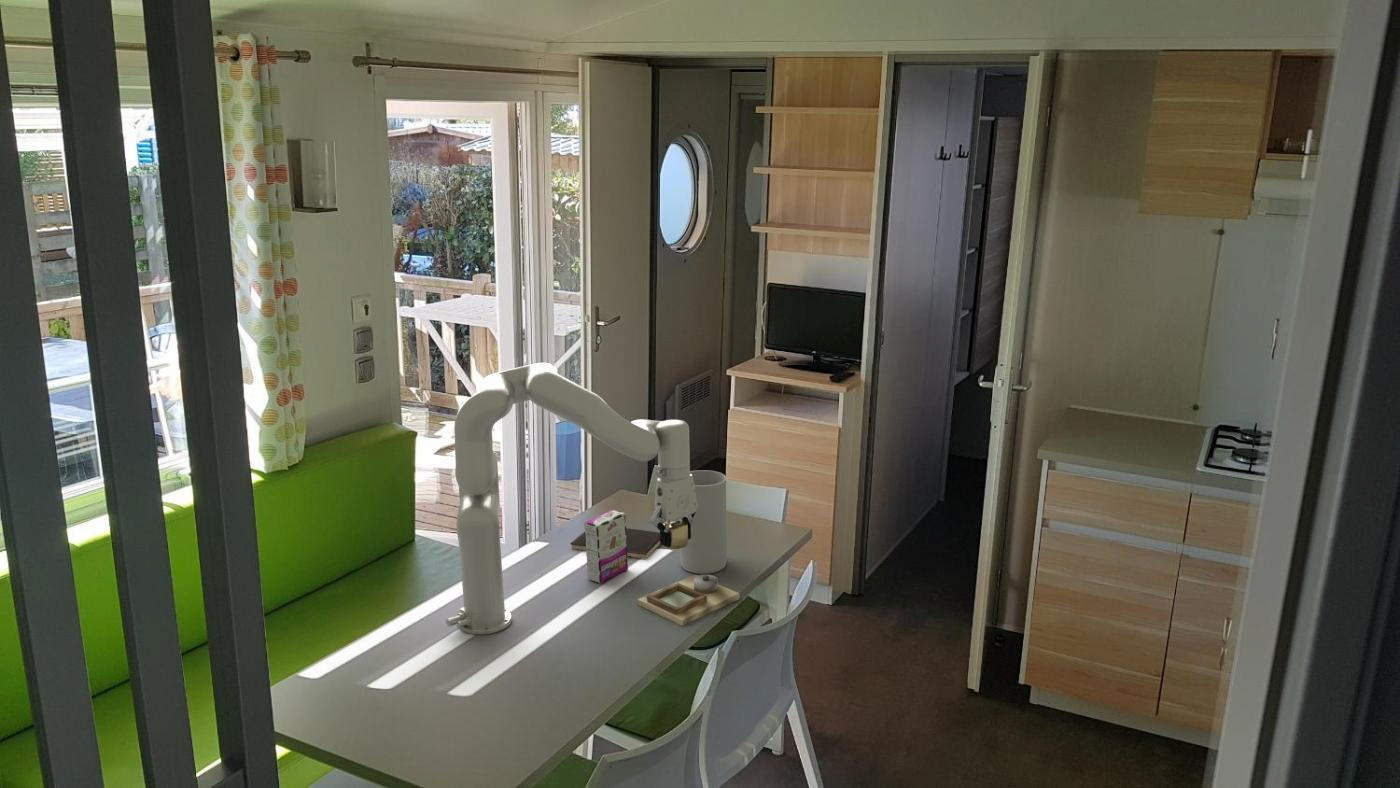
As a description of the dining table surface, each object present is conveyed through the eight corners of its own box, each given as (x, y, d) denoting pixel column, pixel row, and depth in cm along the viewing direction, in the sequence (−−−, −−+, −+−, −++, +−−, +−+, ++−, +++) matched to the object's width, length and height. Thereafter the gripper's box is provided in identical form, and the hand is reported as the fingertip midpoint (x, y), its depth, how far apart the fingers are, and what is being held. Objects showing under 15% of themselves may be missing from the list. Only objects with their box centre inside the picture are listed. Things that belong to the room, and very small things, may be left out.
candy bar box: (614, 565, 280) (612, 508, 276) (628, 570, 277) (626, 512, 273) (586, 579, 271) (583, 521, 267) (600, 584, 268) (597, 525, 264)
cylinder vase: (700, 552, 288) (699, 467, 281) (735, 563, 280) (735, 476, 274) (670, 566, 278) (669, 479, 272) (706, 579, 271) (705, 489, 264)
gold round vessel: (675, 551, 247) (674, 528, 246) (658, 544, 251) (657, 522, 250) (693, 543, 251) (692, 521, 250) (676, 537, 255) (675, 515, 254)
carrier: (681, 625, 246) (681, 607, 245) (637, 604, 257) (637, 586, 256) (739, 598, 259) (739, 581, 258) (695, 579, 270) (694, 562, 269)
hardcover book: (645, 561, 284) (645, 553, 283) (570, 550, 291) (570, 543, 291) (667, 539, 298) (666, 532, 297) (595, 530, 306) (594, 522, 305)
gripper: (658, 484, 238) (659, 556, 243) (710, 466, 250) (711, 535, 254) (636, 476, 243) (638, 547, 248) (689, 459, 255) (690, 527, 259)
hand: (675, 540), depth 251 cm, fingers closed on gold round vessel, 6 cm apart
